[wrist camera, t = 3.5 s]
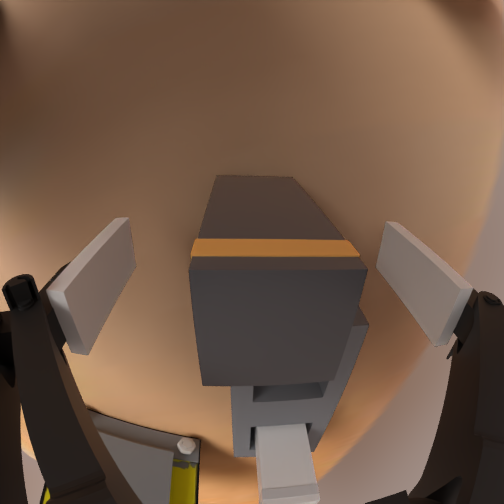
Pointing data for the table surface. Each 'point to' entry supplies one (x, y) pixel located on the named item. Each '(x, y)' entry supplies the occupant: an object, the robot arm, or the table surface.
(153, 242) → the table surface
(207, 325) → the plug
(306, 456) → the white rectangular block
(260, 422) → the pdu strip
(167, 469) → the electrical component
